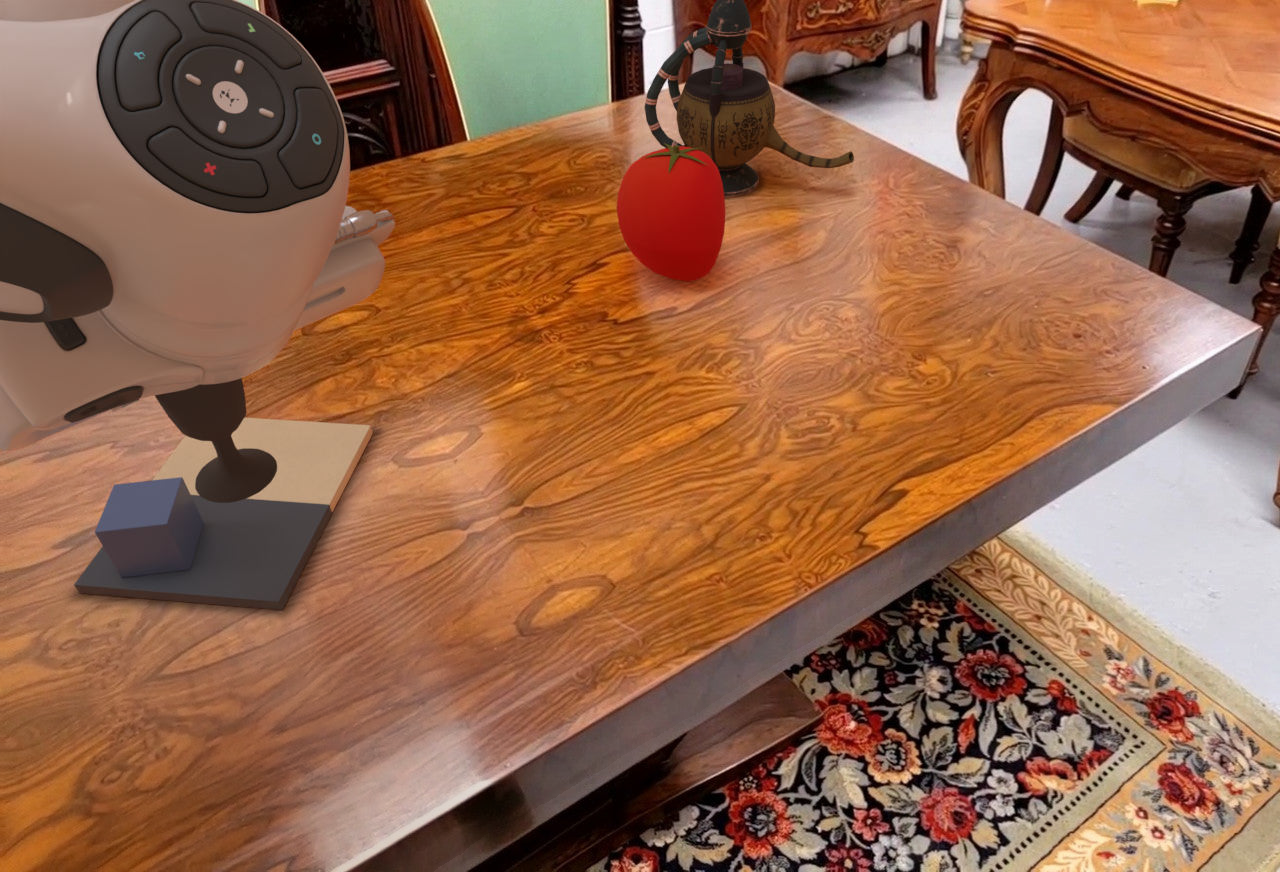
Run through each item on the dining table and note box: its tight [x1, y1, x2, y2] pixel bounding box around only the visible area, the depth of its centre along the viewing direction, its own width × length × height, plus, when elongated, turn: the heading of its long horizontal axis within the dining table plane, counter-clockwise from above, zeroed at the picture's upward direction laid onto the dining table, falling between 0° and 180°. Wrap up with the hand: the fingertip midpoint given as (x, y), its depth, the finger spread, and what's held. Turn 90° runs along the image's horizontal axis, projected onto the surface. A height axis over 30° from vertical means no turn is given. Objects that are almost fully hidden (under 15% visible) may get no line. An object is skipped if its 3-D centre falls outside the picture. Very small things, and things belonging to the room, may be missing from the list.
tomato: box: [616, 143, 726, 282], centre depth 99 cm, size 13×11×14 cm
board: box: [73, 416, 374, 611], centre depth 76 cm, size 16×20×1 cm
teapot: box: [644, 0, 855, 198], centre depth 111 cm, size 12×25×23 cm, turn 71°
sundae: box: [154, 378, 277, 503], centre depth 54 cm, size 7×7×15 cm
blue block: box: [94, 477, 204, 578], centre depth 70 cm, size 5×5×5 cm
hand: (187, 364), depth 54 cm, fingers closed on sundae, 6 cm apart
